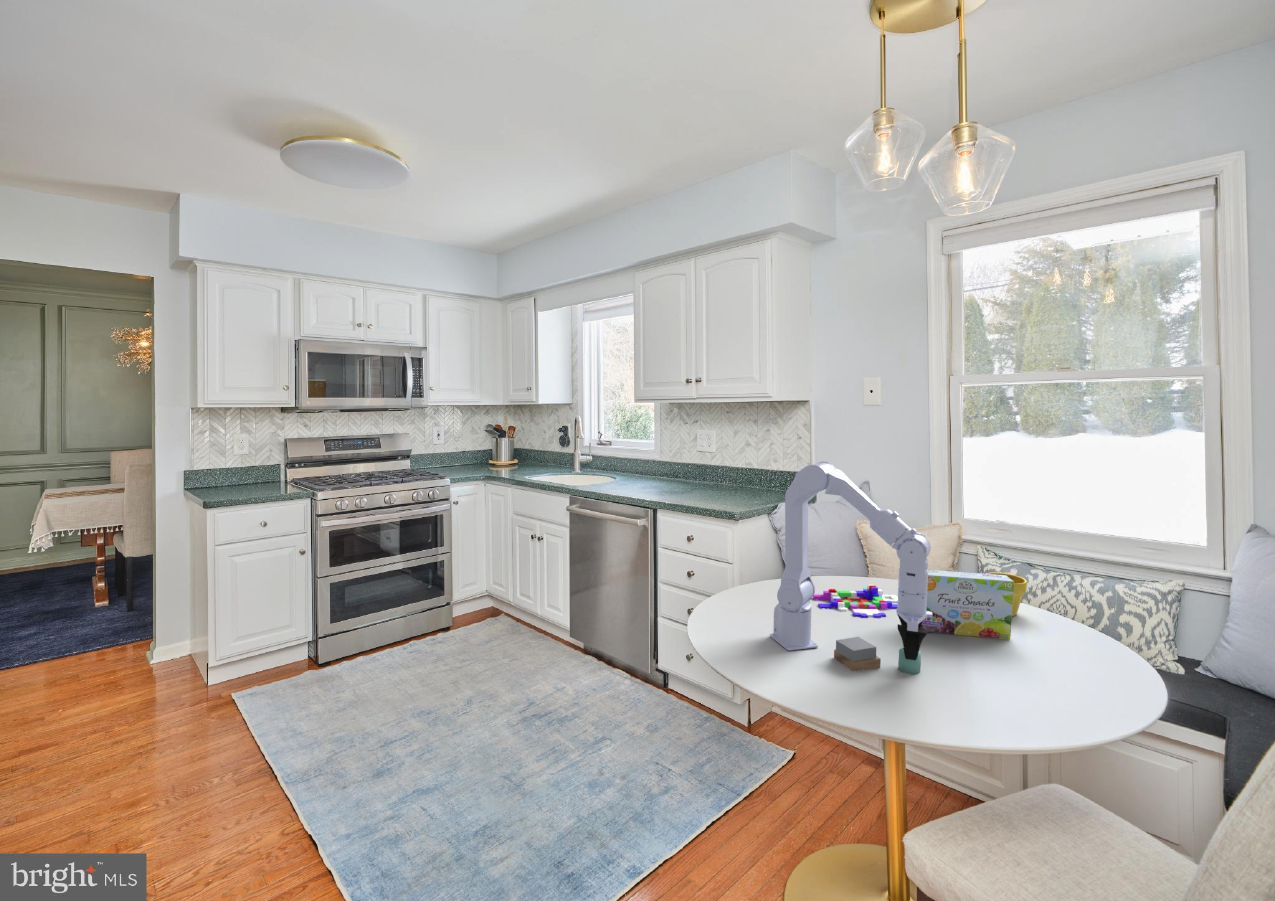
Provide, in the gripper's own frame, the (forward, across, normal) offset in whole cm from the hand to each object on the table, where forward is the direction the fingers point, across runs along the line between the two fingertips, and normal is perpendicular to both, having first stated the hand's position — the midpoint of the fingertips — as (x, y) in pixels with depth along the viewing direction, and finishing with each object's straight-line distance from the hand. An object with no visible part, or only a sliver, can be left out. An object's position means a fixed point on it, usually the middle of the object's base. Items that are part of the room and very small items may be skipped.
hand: (910, 652), depth 133 cm
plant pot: (+4, +49, -25) cm, 55 cm away
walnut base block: (+4, -1, +11) cm, 12 cm away
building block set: (+5, +40, +12) cm, 42 cm away
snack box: (+4, +28, -12) cm, 31 cm away
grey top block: (+2, -1, +11) cm, 11 cm away
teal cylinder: (+4, 0, 0) cm, 4 cm away
